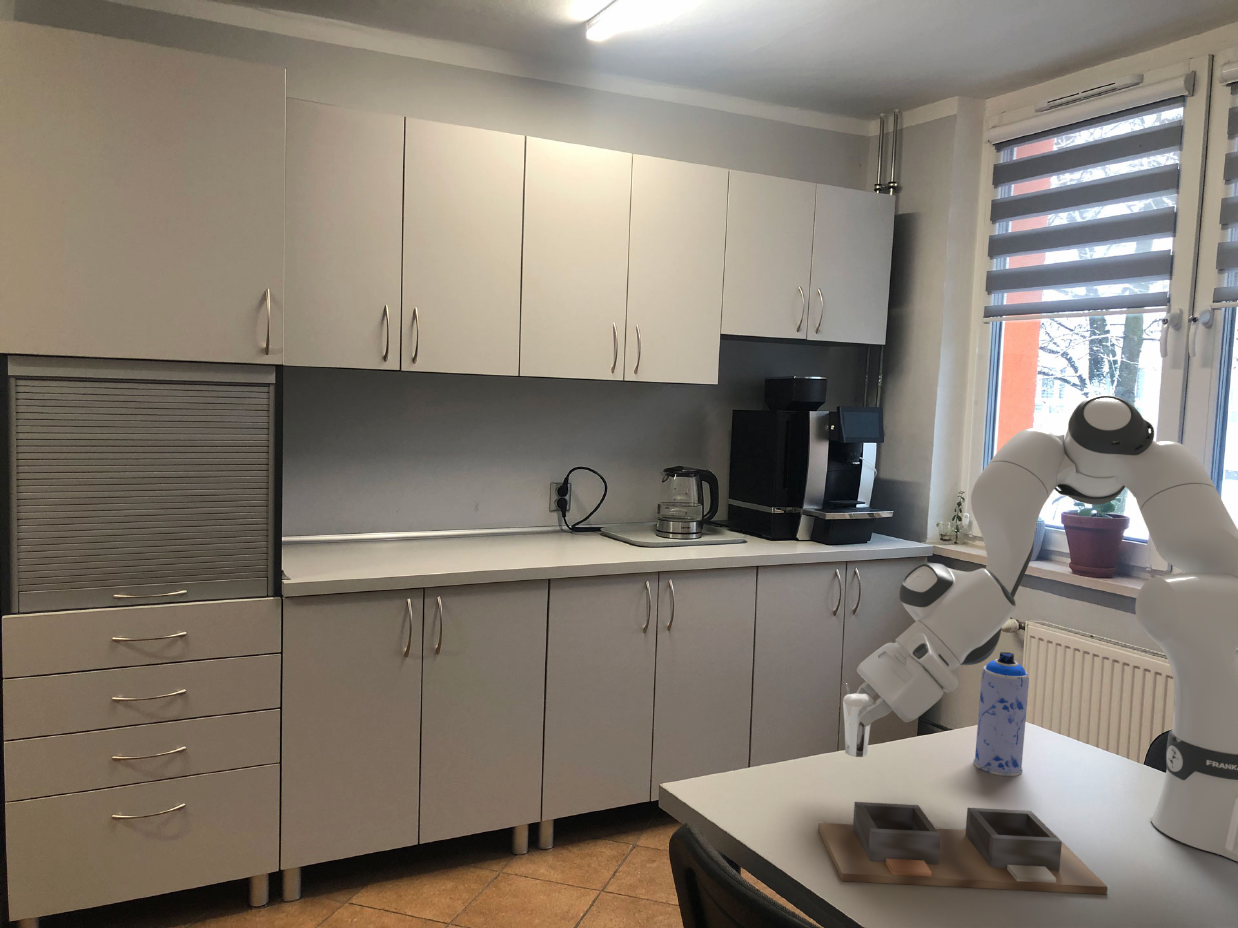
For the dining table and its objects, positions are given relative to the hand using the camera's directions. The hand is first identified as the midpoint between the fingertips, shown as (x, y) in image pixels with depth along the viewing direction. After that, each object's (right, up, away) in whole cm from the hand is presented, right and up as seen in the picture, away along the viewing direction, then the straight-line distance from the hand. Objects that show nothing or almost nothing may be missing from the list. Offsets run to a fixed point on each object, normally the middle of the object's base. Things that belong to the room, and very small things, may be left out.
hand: (856, 715), depth 138 cm
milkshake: (0, -6, 0) cm, 6 cm away
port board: (+9, -15, -15) cm, 24 cm away
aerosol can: (+29, -14, +19) cm, 38 cm away
